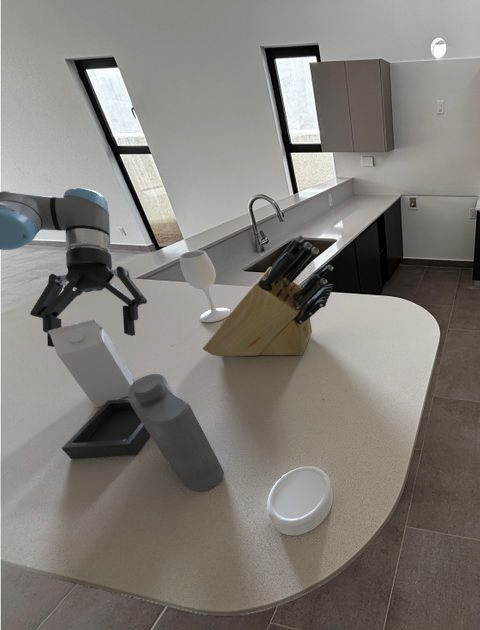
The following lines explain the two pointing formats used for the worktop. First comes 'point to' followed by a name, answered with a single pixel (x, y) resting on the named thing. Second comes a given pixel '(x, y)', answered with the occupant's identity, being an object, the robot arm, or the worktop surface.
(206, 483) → the flask
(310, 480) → the coaster
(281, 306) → the knife block
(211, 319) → the wineglass
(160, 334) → the worktop surface
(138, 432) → the tray
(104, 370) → the milk carton
